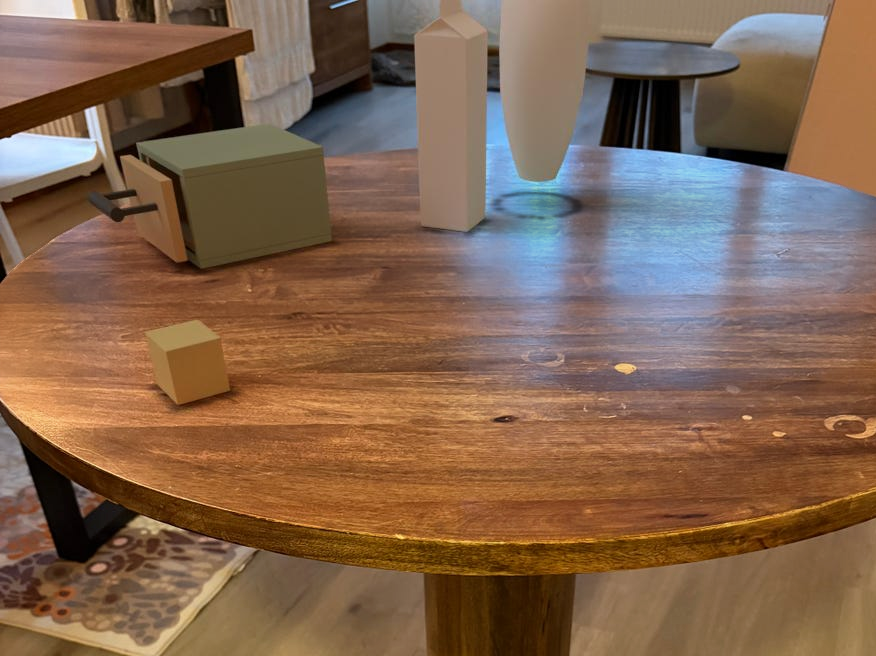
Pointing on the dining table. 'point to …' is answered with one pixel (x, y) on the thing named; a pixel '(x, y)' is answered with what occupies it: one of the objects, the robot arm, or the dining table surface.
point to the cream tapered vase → (542, 80)
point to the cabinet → (247, 191)
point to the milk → (452, 119)
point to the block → (188, 361)
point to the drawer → (152, 206)
